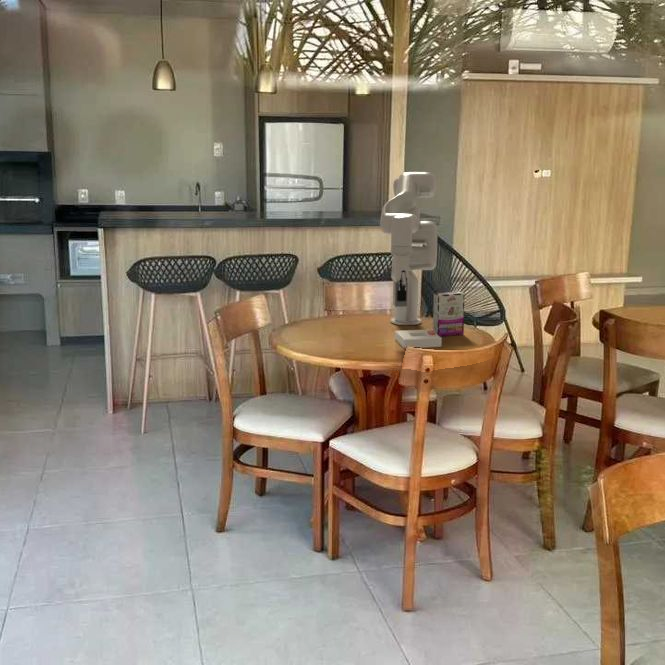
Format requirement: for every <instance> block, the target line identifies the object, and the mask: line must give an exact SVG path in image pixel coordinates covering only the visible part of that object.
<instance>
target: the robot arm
mask: <svg viewBox="0 0 665 665" xmlns="http://www.w3.org/2000/svg"><path fill="white" fill-rule="evenodd" d="M398 176H399V177H397V178H395V179H394V181H393V184H392V185H393V186H392V187H393V195H394V196H393V197H392V198H390V199H389V200H388V201H387V202H386V203H384V205H383V207H382V209H381V215H380V221H379V226H380V227H379V228H380V231H381V232H382V233H383V234H386V235H388V234H390V254H391V256H392V258H391V259H392V260H391V272H390V274H391V276H390V278H391V280H393V281H395V282H397V281H398V290H397V301H406V282H408V290H407V306H403V307H395V306H394V317H392V318H390V322H391V324H394V325H399V326H414V325H415V326H416V325H420V324H421V323H422V318H419V317H418V315H419V314H418V310H419V308H418V307H419V279H418V277H417V275H416V274H415V272H413V271H432V270H434V269H435V268H436V266H437V261H438V260H437V259H438V227H437V224H436V223H435V222H434V221H431V220H421V219H420V217H421V216H420V215H421V210H420V207H419V206H418V205H417V203H418V198H419V199H421V198H423V199H425V198H426V199H427V198H430V199H431V198H433V197H434V196H435V195H436V192H437V181H436V178H435V176H434V174H433V173H432V172H428V171H407V172H403V173H401V174H400V175H398ZM415 245H416V246H415ZM417 245H425V246H417ZM400 280H402V282H400ZM400 284H401V285H400Z"/></svg>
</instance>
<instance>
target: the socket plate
mask: <svg viewBox="0 0 665 665" xmlns="http://www.w3.org/2000/svg"><path fill="white" fill-rule="evenodd" d="M394 339H395V340H396V342H397V343H398V344H400V346H401V347H402V348H403V349H407V348H406V347H408V346H412V347H420V349H421V348H441V347H442V342H443V340H442V339H443V338H442V336H438V335H437V334H436V333H435V332H434V331H433V329H430V328H429V329H412V330H411V329H408V330H407V329H406V330H394Z"/></svg>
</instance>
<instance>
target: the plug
mask: <svg viewBox="0 0 665 665" xmlns="http://www.w3.org/2000/svg"><path fill="white" fill-rule="evenodd" d="M400 282H402V280H400ZM392 284H393V290H392V291H393V293H392V295H393V296H392V305H393V306H394V308H395V307H403V306H407V290H408V282H406V301H397V290H398V281H397V282H395V281H394V280H393V282H392ZM400 285H401V284H400Z"/></svg>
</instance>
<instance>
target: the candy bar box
mask: <svg viewBox="0 0 665 665" xmlns="http://www.w3.org/2000/svg"><path fill="white" fill-rule="evenodd" d="M432 310H433V312H432V313H433V314H432V315H433V319H432V320H433V322H432V326H433V327H432V330H433V331H434V332H435V333H436V334H437V335H438V336H440V337H449V336H451V337H452V336H462V335H464V333H465V332H464V328H465V325H464V324H465V293H464V292H462V291H447V292H445V291H444V292H435V293H433V309H432Z"/></svg>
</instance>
